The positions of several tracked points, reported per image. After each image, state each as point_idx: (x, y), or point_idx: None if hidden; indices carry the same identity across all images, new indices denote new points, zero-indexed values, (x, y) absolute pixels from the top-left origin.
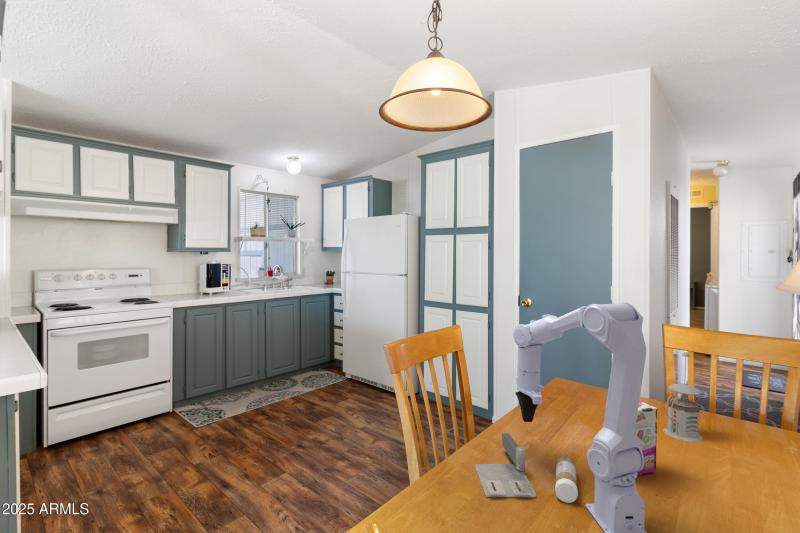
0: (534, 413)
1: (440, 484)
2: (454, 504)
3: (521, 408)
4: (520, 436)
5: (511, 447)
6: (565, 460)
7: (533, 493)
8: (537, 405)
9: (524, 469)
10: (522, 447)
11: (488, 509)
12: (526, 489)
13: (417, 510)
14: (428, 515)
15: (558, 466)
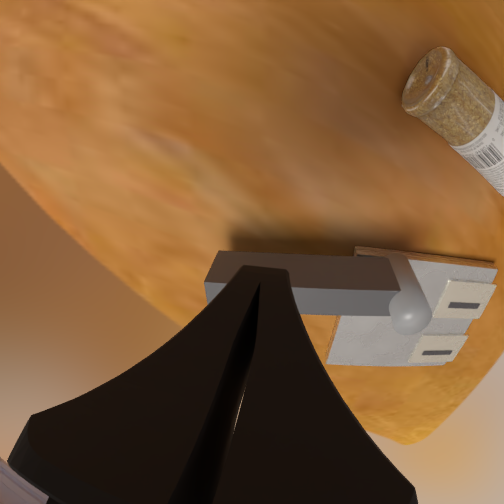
0: (302, 321)
1: (368, 407)
2: (430, 396)
3: (236, 414)
4: (101, 149)
5: (337, 311)
6: (484, 119)
7: (494, 274)
8: (355, 419)
9: (407, 259)
10: (406, 311)
11: (469, 358)
12: (482, 289)
13: (415, 425)
14: (432, 417)
15: (487, 164)
